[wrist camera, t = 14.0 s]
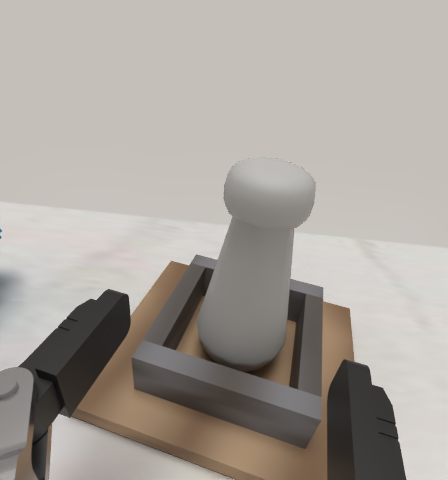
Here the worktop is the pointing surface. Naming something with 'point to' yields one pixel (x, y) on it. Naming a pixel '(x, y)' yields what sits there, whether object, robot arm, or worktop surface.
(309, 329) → the socket board
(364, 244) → the worktop surface
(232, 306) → the salt shaker
